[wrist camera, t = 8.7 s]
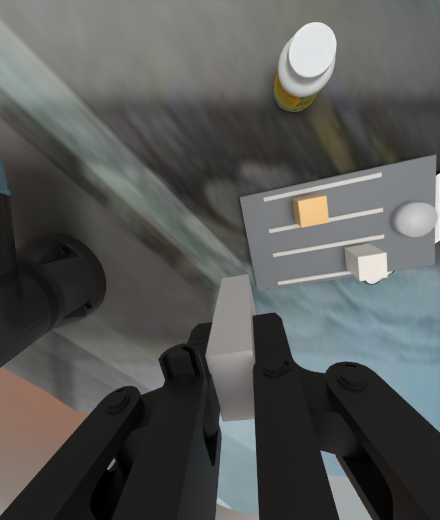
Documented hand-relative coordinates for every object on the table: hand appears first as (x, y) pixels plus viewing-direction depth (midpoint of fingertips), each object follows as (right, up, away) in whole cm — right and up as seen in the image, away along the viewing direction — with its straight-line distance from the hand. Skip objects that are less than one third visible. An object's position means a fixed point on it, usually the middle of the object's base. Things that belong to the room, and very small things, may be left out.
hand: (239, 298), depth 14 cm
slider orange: (+10, +9, +18) cm, 22 cm away
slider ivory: (+17, +3, +19) cm, 25 cm away
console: (+14, +7, +21) cm, 26 cm away
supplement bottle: (+8, +23, +17) cm, 30 cm away
